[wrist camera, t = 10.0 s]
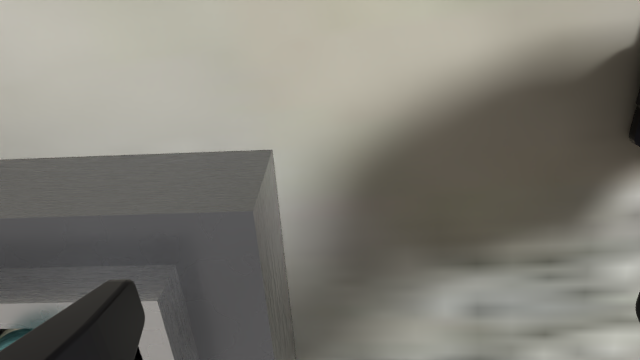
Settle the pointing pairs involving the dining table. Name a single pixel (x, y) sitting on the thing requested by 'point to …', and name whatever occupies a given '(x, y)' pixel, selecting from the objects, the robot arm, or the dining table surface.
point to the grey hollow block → (152, 248)
